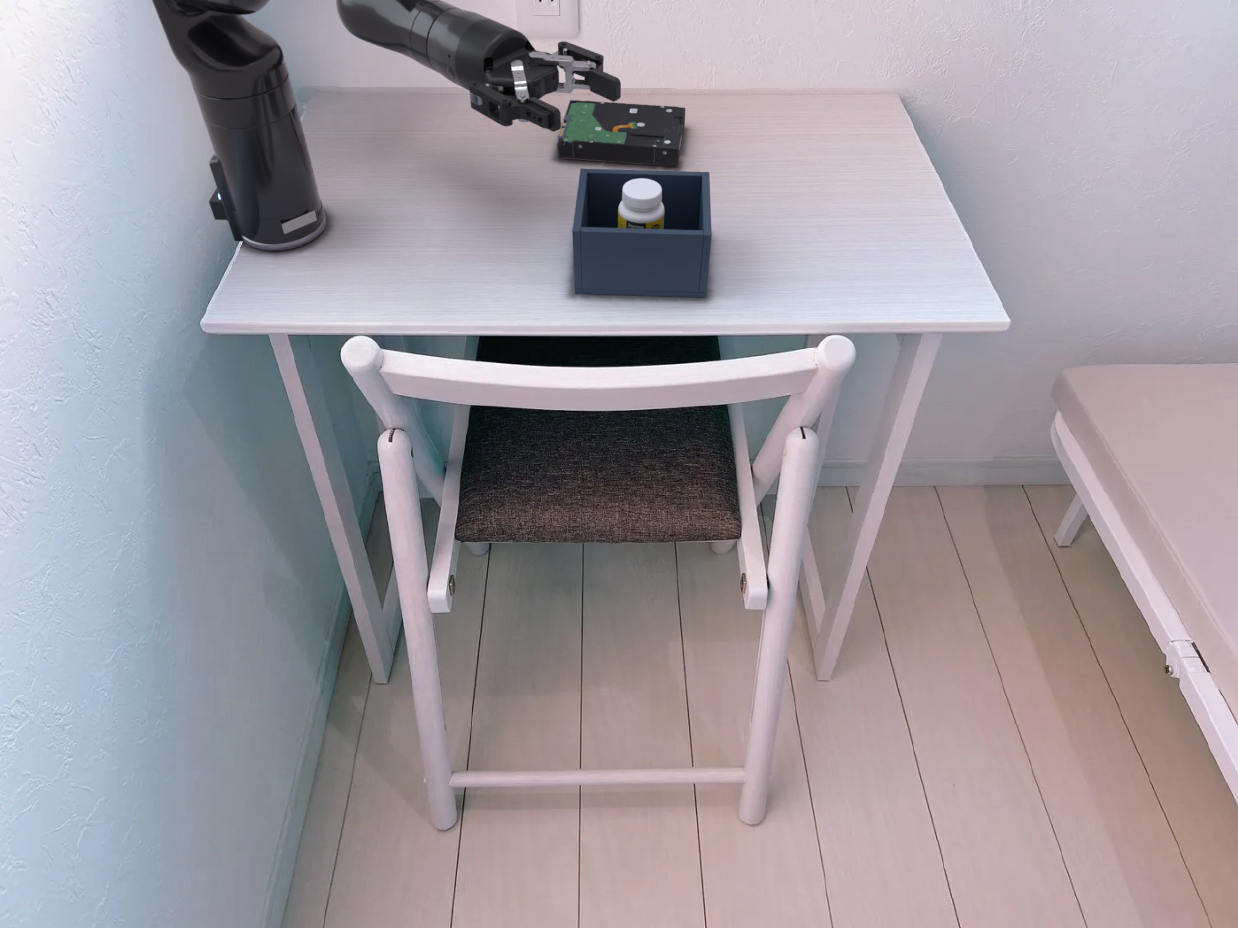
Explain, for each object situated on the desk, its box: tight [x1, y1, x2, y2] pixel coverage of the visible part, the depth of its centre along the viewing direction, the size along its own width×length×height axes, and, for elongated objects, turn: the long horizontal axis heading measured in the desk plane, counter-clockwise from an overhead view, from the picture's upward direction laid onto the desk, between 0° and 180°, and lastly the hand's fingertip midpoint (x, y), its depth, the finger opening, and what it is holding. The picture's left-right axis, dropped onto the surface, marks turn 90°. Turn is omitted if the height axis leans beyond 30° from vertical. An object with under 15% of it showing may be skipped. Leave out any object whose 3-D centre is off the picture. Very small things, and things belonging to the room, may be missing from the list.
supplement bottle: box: [618, 178, 665, 229], centre depth 101 cm, size 5×5×8 cm
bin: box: [572, 168, 713, 298], centre depth 102 cm, size 14×12×8 cm
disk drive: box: [556, 99, 686, 166], centre depth 121 cm, size 10×3×15 cm
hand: (589, 106), depth 97 cm, fingers open, 8 cm apart
